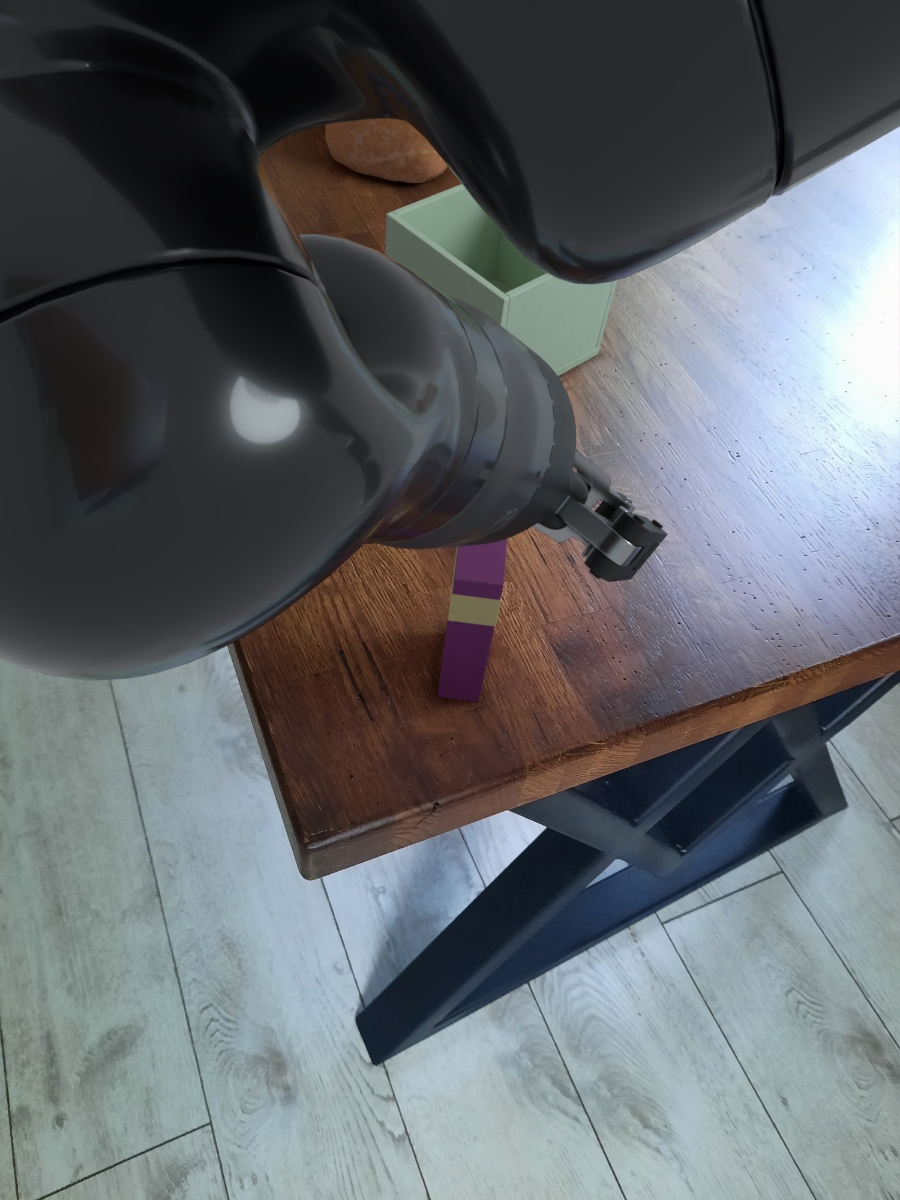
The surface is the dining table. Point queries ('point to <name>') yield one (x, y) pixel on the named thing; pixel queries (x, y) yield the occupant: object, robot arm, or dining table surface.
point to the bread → (384, 150)
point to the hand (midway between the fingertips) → (543, 461)
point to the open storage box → (498, 277)
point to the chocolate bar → (471, 619)
